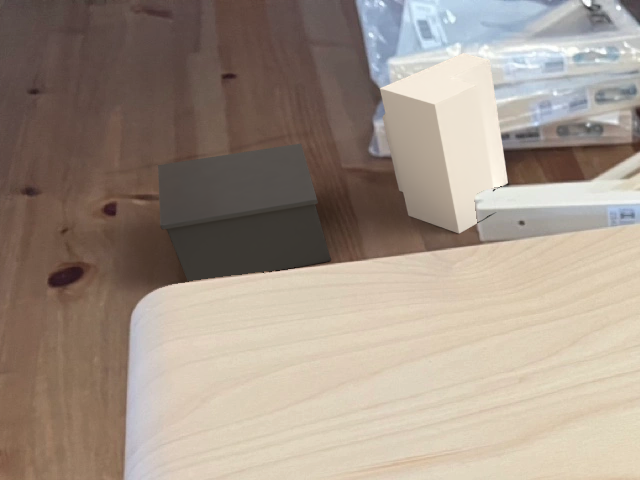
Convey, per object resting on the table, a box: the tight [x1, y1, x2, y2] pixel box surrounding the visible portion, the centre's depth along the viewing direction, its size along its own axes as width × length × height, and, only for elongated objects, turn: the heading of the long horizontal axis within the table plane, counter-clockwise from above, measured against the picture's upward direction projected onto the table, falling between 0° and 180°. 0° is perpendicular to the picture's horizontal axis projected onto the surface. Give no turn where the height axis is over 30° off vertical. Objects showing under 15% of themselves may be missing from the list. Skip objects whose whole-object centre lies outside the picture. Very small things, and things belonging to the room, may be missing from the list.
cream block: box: [379, 52, 509, 234], centre depth 97 cm, size 11×11×12 cm
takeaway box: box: [157, 143, 332, 282], centre depth 92 cm, size 13×13×6 cm
